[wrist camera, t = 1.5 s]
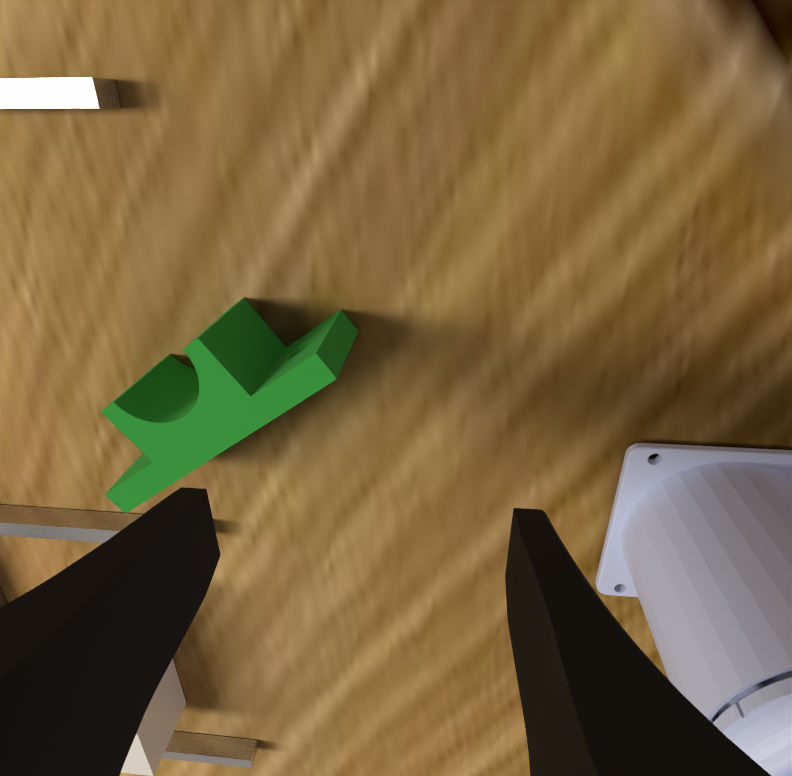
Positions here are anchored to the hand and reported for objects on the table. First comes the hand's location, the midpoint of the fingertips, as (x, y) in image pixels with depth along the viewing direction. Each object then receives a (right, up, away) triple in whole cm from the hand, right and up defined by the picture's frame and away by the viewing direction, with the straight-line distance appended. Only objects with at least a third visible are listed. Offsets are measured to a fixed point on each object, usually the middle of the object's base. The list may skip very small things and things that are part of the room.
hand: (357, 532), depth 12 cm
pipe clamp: (-6, +4, +9) cm, 12 cm away
